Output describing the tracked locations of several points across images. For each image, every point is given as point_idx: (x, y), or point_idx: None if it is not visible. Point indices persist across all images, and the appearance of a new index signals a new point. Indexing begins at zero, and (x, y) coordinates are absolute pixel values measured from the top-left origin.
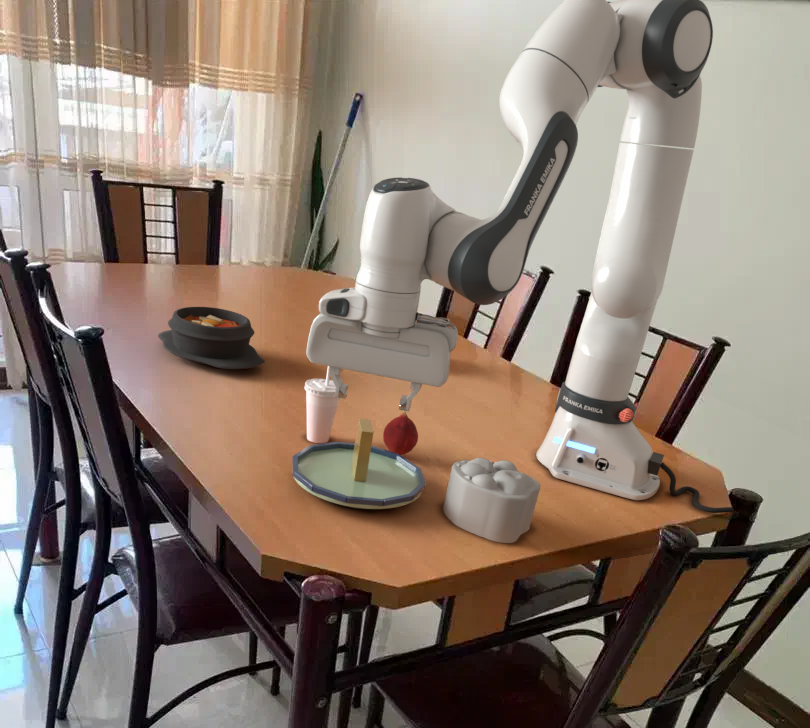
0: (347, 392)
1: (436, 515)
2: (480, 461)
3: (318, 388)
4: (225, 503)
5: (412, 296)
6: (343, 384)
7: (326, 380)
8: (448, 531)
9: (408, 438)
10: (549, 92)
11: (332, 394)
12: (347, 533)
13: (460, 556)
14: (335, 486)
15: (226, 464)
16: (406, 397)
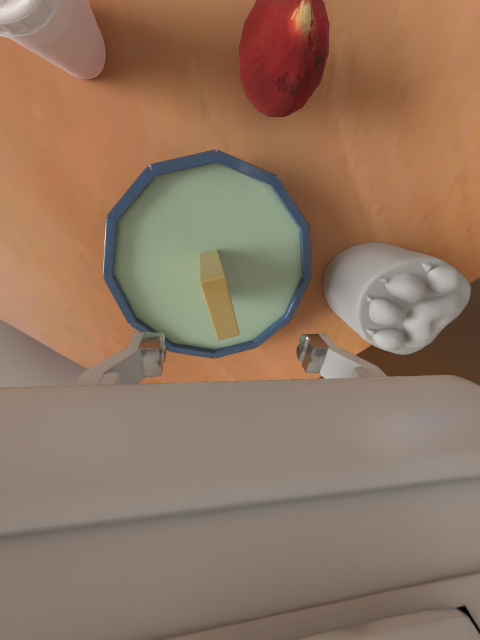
0: (162, 336)
1: (312, 295)
2: (407, 297)
3: None
4: (85, 365)
5: None
6: (145, 356)
7: None
8: (320, 323)
9: (300, 105)
10: None
11: (41, 9)
12: (222, 365)
13: None
14: (193, 324)
15: (9, 273)
16: (322, 358)
